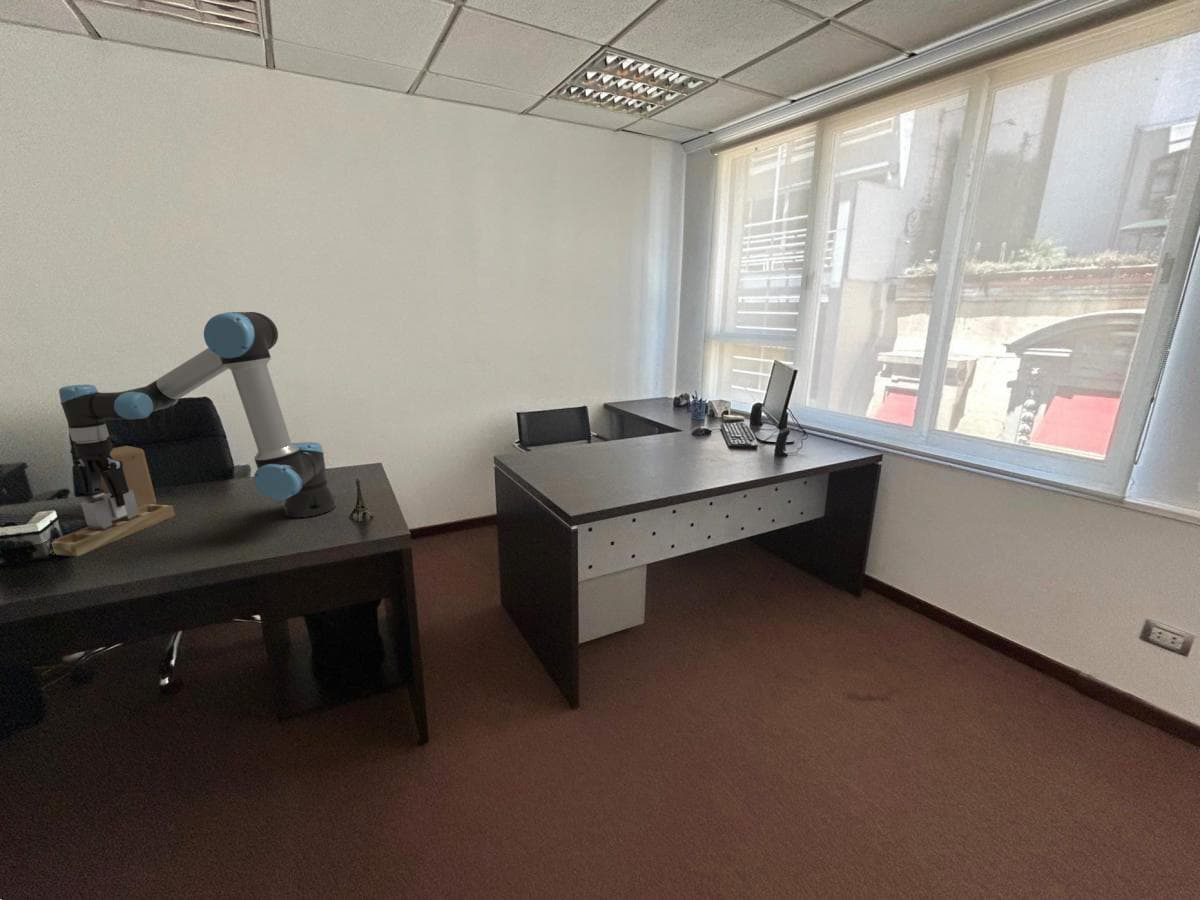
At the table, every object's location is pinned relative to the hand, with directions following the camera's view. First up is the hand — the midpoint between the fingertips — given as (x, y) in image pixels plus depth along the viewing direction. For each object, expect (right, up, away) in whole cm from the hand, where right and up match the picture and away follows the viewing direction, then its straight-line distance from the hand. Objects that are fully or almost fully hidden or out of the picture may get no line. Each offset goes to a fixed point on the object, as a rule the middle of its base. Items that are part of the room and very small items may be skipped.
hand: (112, 515), depth 148 cm
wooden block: (-13, 0, +21) cm, 25 cm away
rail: (0, -6, +2) cm, 6 cm away
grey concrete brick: (0, -6, +2) cm, 6 cm away
